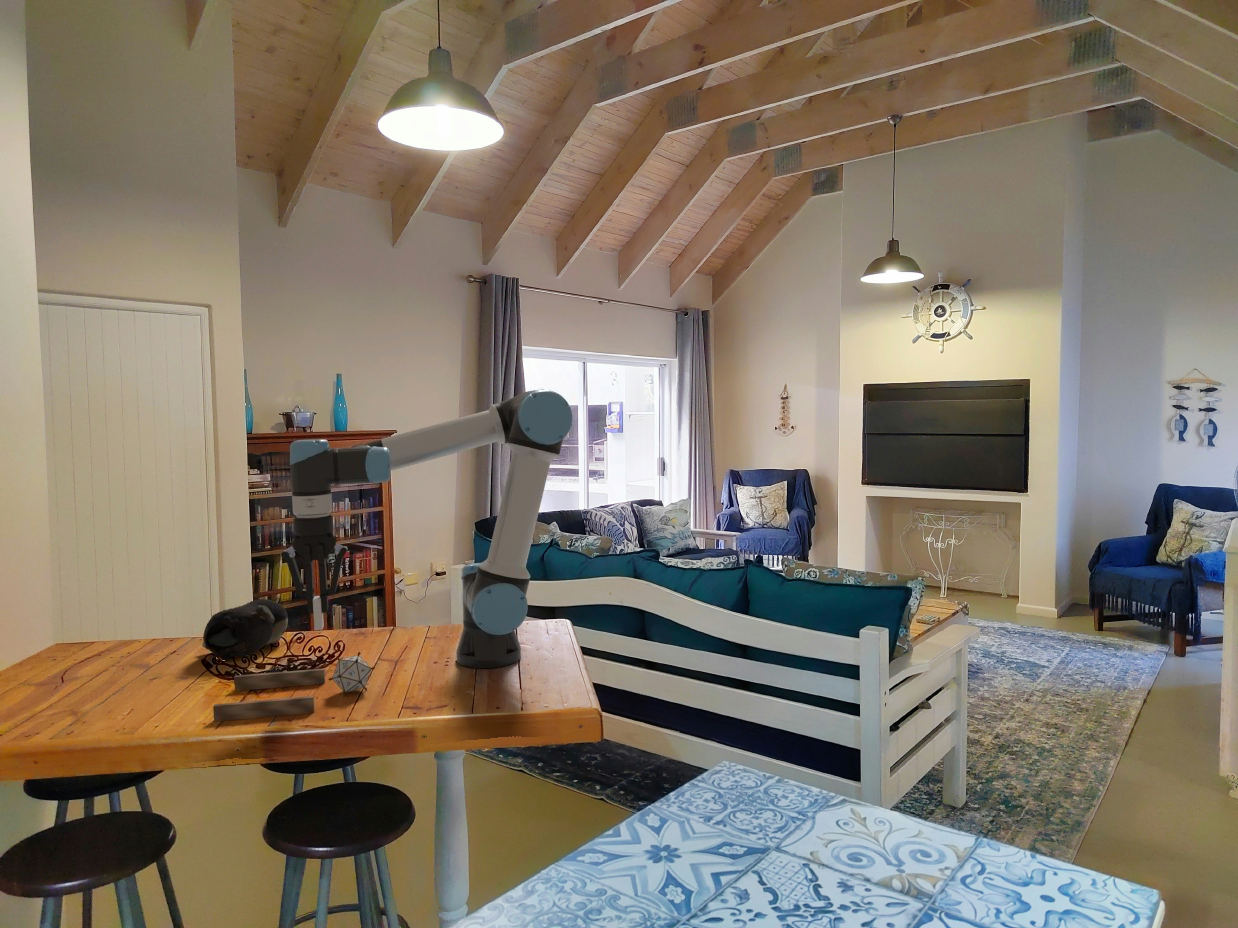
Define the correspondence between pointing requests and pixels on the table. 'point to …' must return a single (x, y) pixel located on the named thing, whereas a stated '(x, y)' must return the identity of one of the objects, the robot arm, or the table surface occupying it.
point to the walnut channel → (274, 705)
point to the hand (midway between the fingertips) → (319, 628)
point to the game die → (351, 673)
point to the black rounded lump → (245, 628)
